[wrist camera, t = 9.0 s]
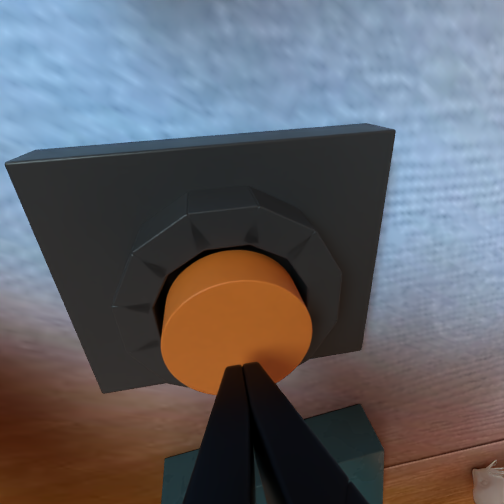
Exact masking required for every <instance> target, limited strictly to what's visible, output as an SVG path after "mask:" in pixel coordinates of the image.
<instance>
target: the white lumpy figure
mask: <svg viewBox="0 0 504 504" xmlns="http://www.w3.org/2000/svg"><path fill="white" fill-rule="evenodd" d="M495 462H496V460H495V461H494V462H492V463H491V464H490V465H489V466H487V467H486V468H481V469H475V468H474V469H473V471H472V474H473V482H474V489H473V498H474V502H475V503H476V504H504V478H503V477H502V476H503V475H500V474H504V473H503V472H504V471H501V470H499V469H504V468H490V467H492V465H493V464H494V463H495ZM497 463H498V462H497ZM493 466H494V465H493Z"/></svg>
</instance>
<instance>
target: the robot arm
mask: <svg viewBox="0 0 504 504" xmlns="http://www.w3.org/2000/svg"><path fill="white" fill-rule="evenodd" d="M253 448H254V450H253ZM254 454H255V459H256V463H257V467H258V471H259V475H260V478H261V482H262V486H263V490H264V493H265V497H266V501H267V504H369V502H368V501H367V500H366V499H365V498H364V496H363V495H362V494H361V492H360V491H359V490H358V489H357V487H356V486H355V485H354V483H353V482H352V481H350V482H349V477H348V476H347V475H346V474H345V472H344V471H343V470H342V468H341V467H340V466H339V465H338V463H337V462H336V461H335V459H334V458H333V457H332V456H331V454H330V453H329V452H328V450H327V449H326V448H325V447H324V445H323V444H322V443H321V442H320V440H319V439H318V438H317V436H316V435H315V434H314V433H313V431H312V430H311V429H310V427H309V426H308V425H307V424H306V422H305V421H304V420H303V418H302V417H301V416H300V415H299V413H298V412H297V411H296V410H295V408H294V407H293V406H292V404H291V403H290V402H289V401H288V399H287V398H286V397H285V395H284V394H283V393H282V392H281V390H280V389H279V388H278V386H277V385H276V384H275V383H274V381H273V380H272V379H271V378H270V376H269V375H268V374H267V372H266V371H265V370H264V369H263V367H262V366H261V365H260V364H259V363H258V362H250V363H245V364H243V366H241V365H240V364H238V365H232V366H227V367H226V368H225V371H224V374H223V377H222V380H221V383H220V387H219V390H218V393H217V396H216V399H215V402H214V405H213V409H212V412H211V415H210V418H209V421H208V424H207V427H206V431H205V434H204V437H203V440H202V443H201V446H200V449H199V453H198V456H197V459H196V462H195V465H194V468H193V471H192V475H191V478H190V481H189V484H188V487H187V490H186V493H185V497H184V500H183V503H182V504H256V486H255V464H254Z"/></svg>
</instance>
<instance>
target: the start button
mask: <svg viewBox="0 0 504 504" xmlns="http://www.w3.org/2000/svg"><path fill="white" fill-rule="evenodd" d="M311 339H312V321H311V317H310V314H309V312H308V310H307V308H306V306H305V304H304V302H303V300H302V298H301V296H300V294H299V292H298V290H297V288H296V286H295V284H294V282H293V280H292V278H291V276H290V275H289V273H288V272H287V271H286V270H285V268H284V267H283V266H281V265H280V264H279V263H278V262H276V261H275V260H273V259H272V258H270V257H268V256H265V255H263V254H260V253H257V252H253V251H247V250H227V251H221V252H217V253H213V254H210V255H207V256H205V257H203V258H200V259H199V260H197V261H195V262H194V263H192V264H191V265H189V266H188V267H187V268H186V269H184V270H183V271H182V272H181V273H180V274H179V275H178V277H177V278H176V279H175V281H174V282H173V284H172V286H171V287H170V289H169V292H168V295H167V299H166V305H165V312H164V320H163V328H162V335H161V353H162V357H163V360H164V363H165V364H166V366H167V368H168V370H169V371H170V372H171V373H172V375H173V376H174V377H175V378H176V379H178V380H179V381H180V382H181V383H183V384H184V385H186V386H188V387H190V388H192V389H194V390H197V391H199V392H203V393H207V394H212V395H217V393H218V390H219V387H220V383H221V380H222V377H223V374H224V371H225V368H226V367H227V366H232V365H238V364H240V365H241V366H243V364H245V363H250V362H258V363H259V364H260V365H261V366H262V367H263V369H264V370H265V371H266V372H267V374H268V375H269V376H270V378H271V379H272V380H273V381H274V383H277V382H279V381H280V380H282V379H283V378H285V377H286V376H287V375H288V374H290V373H291V372H292V371H293V370H294V369H295V368H296V367H297V366H298V365H299V364H300V362H301V361H302V360H303V358H304V357H305V355H306V353H307V351H308V349H309V346H310V343H311Z"/></svg>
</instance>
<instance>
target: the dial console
mask: <svg viewBox="0 0 504 504" xmlns="http://www.w3.org/2000/svg"><path fill="white" fill-rule="evenodd" d="M304 421H305V422H306V424H307V425H308V426H309V427H310V429H311V430H312V431H313V433H314V434H315V435H316V436H317V438H318V439H319V440H320V442H321V443H322V444H323V445H324V447H325V448H326V449H327V450H328V452H329V453H330V454H331V456H332V457H333V458H334V459H335V461H336V462H337V463H338V465H339V466H340V467H341V468H342V470H343V471H344V472H345V474H346V475H347V476H348V477H349V482H350V481H352V482H353V483H354V485H355V486H356V487H357V489H358V490H359V491H360V492H361V494H362V495H363V496H364V498H365V499H366V500H367V501H368V502H369V504H383V474H384V448H383V447H382V445H381V443H380V441H379V439H378V437H377V435H376V433H375V431H374V429H373V427H372V425H371V423H370V422H369V420H368V418H367V416H366V414H365V412H364V410H363V408H362V406H361V405H360V404H358V405H355V406H351V407H348V408H344V409H341V410H337V411H333V412H330V413H326V414H323V415H319V416H316V417H312V418H308V419H305V420H304ZM253 450H254V448H253ZM198 453H199V449H198V450H194V451H191V452H187V453H184V454H180V455H176V456H173V457H169V458H166V459H165V463H164V476H163V488H162V501H161V504H182V503H183V500H184V497H185V493H186V490H187V487H188V484H189V481H190V478H191V475H192V471H193V468H194V465H195V462H196V459H197V456H198ZM254 464H255V486H256V504H267V501H266V497H265V493H264V490H263V486H262V482H261V478H260V475H259V471H258V467H257V463H256V459H255V454H254Z"/></svg>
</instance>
